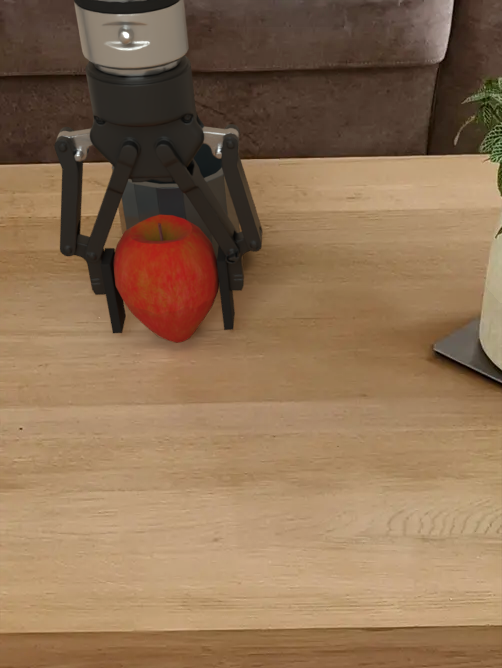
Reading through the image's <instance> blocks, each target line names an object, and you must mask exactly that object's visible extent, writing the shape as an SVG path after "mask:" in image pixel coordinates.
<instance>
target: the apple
mask: <svg viewBox="0 0 502 668" xmlns="http://www.w3.org/2000/svg"><path fill="white" fill-rule="evenodd" d="M113 266H114V276H115V285H116V287H117V289H118V291H119V293H120V295H121V297H122V299H123V302H124V305H125V306H126V308H128V310H129V311H130V312H131V314H132V315H133V316H134V317H135V318H136V319H137V320H138V321H139V322H141V324H143V325H144V327H146V328H147V329H148V330H150V331H151V332H152V333H154V334H155V335H157V337H160V338H161V339H164V340H166V341H169V342H173V343H182V342H185V341H187V340H188V339H190V338H191V337H192V336H193V334H194V333H195V332H196V331H197V329H198V328H199V326H200V325H201V324H202V323H203V321H204V319H205V318H206V317H207V315H208V313H209V312H210V310H211V309H212V307H213V305H214V303H215V301H216V298H217V295H218V291H219V289H220V287H219V278H218V269H217V259H216V255H215V252H214V249H213V246H212V243H211V242H210V240H209V239H208V238H207V236H206V235H205V234H204V233H203V232H202V230H201V229H200V228H199V227H198V226H196V225H194V224H193V223H191V222H189V221H187V220H186V219H183V218H180V217H176V216H173V215H157V216H153V217H150V218H148V219H146V220H143V221H141V222H139V223H137V224H136V225H134V226H133V227H131V228H129V229H128V230H126V231H125V232H124V233H123V234H122V235H121V237H120V238H119V240H118V242H117V244H116V247H115V256H114V261H113Z"/></svg>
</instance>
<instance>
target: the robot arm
mask: <svg viewBox="0 0 502 668" xmlns="http://www.w3.org/2000/svg"><path fill="white" fill-rule="evenodd" d="M73 4H74V10H75V16H76V22H77V28H78V33H79V40H80V47H81V52H82V54H83V57H84V58H85V59H86V60H87V64H86V66H85V75H86V81H87V86H88V93H89V98H90V99H89V100H90V105H91V110H92V117H93V118H92V119H93V121H92V125H91V127H90V128H86V129H79V130H74V128H72V127H69V126H64V127H62V128H61V129H59V132H58V135H57V137H56V140H55V142H54V145H53V146H54V151H55V153H56V156H57V160H58V161H59V164H60V167H61V191H60V192H61V193H60V196H61V197H60V201H61V202H60V228H59V230H60V231H59V233H60V234H59V252H60V253H61V255H63V256H65V257H73V256H76V257H79V258H82V259H83V260H84V261H86V265H87V270H88V275H89V280H90V286H91V290H92V292H93V294H95V295H96V296H101V295H104V296H105V298H106V303H107V309H108V315H109V319H110V327H111V331H112V334H123V331H124V325H125V323H126V316H127V314H126V309H125V302H124V301H123V299H122V297H121V295H120V293H119V291H118V289H117V287H116V285H115V276H114V266H113V261H114V256H115V250H116V248H115V247H105V245H106V243H107V240H108V237H109V235H110V231H111V229H112V226H113V223H114V220H115V218H116V215H117V212H118V206H119V204H120V201H121V198H122V195H123V193H124V190H125V187H126V185H127V182H128V179H131V180H132V182H145V181H149V180H157V181H161V182H173V180H174V181H175V182H176V184H177V185H178V187H179V188H180V190H181V191H182V192H183V193H185V194H186V195H187V197H188V199H189V200H190V202H191V203H192V205H193V206H194V208H195V209H196V211H197V212H198V214H199V215H200V217H201V219H202V220H203V222H204V223H205V225H206V226H207V228H208V229H209V231H210V232H211V234H212V235H213V237H214V239H215V240H216V242H217V243H218V245H219V247H218V255H217V269H218V278H219V294H220V295H219V296H220V305H221V312H222V313H221V314H222V322H223V330H224V331H232V330H234V327H235V326H234V325H235V314H236V311H235V301H234V292H238V291H239V292H240V291H242V290H243V288H244V286H245V269H244V255H245V254H246V253H248V252H253V253H256V252H259V251H260V250H261V249H262V247H263V232H264V231H263V227H262V224H261V221H260V217H259V214H258V211H257V208H256V207H257V206H256V204H255V201H254V198H253V195H252V192H251V188H250V185H249V182H248V179H247V176H246V172H245V169H244V166H243V163H242V159H241V156H240V153H239V152H240V151H239V150H240V139H241V131H240V128H239V126H238V125H237V124H233V123H229V124H227V125H226V126H225V127H224V128H219V127H211V126H205V125H204V123H203V121H202V120H201V119H200V117H199V115H198V112H197V107H196V97H195V89H194V80H193V72H192V63H191V61H190V59H189V57H187V56H186V54H187V53H188V51H189V49H190V48H189V37H188V27H187V18H186V9H185V0H73ZM203 143H204V144H207V145H208V146H209V147H210V148H211V151H212V154H213V155H214V156H215V157H216V158H218V159H222V170H223V174H224V177H225V180H226V183H227V186H228V189H229V193H230V196H231V199H232V202H233V205H234V208H235V211H236V214H237V217H238V220H239V224H240V227H241V230H242V231H241V232H239V233H238V232H237V230H236V228H235V227H234V225H233V224H232V222H231V220H230V219H229V217H228V216H227V214H226V213H225V211H224V209H223V208H222V206H221V205H220V203H219V201H218V200H217V198H216V197H215V195H214V194H213V192H212V190H211V189H210V187H209V186H208V184H207V182H206V181H205V179H204V178H203V176H202V175H201V172H200V169H199V167H198V165H197V163H196V162H195V160H194V156H195V155H196V153H197V152H198V150H199V149H200V147H201V146H202V144H203ZM90 147H94V148H95V149H96V150H97V151H98V152H99V154H101V155H102V156H103V158H104V159H106V161H108V163H110V165H111V166H112V165H113V166H114V169H113V172H112V171H111V175H110V178H109V181H108V184H107V187H106V190H105V192H104V195H103V198H102V201H101V203H100V207H99V210H98V212H97V215H96V218H95V221H94V223H93V227H92V230H91V232H90V235H89V236H88V235H85V234H82V233H81V225H82V201H83V200H82V199H83V175H84V174H83V173H84V161H85V160H87V158H88V155H89V152H90ZM242 256H243V258H242Z"/></svg>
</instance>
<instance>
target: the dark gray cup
mask: <svg viewBox="0 0 502 668" xmlns="http://www.w3.org/2000/svg"><path fill="white" fill-rule="evenodd" d="M194 160H195V162H196V163H197V165H198V167H199V169H200V172H201V175H202V176H203V178H204V179H205V181H206V182H207V184H208V186H209V187H210V189H211V190H212V192H213V194H214V195H215V197H216V198H217V200H218V201H219V203H220V205H221V206H222V208H223V209H224V211H225V213H226V214H227V216H228V217H229V219H230V220H231V222H232V224H233V225H234V227H235V228H236V230H237V232H238V233H239V232H241V231H242V230H241V227H240V224H239V220H238V217H237V214H236V211H235V208H234V205H233V202H232V199H231V196H230V193H229V189H228V186H227V183H226V180H225V177H224V174H223V170H222V159H218V158H216V157H215V156H214V155H213V154H212V151H211V148H210V147H209V146H208V145H207V144H204V143H203V144H202V146H201V147H200V149H199V150H198V152H197V153H196V155H195V156H194ZM113 169H114V166H113V165H112V164H111V173H112V172H113ZM117 211H118V216H119V222H120V227H121V234H122V235H123V233H124V232H125V231H126V230H128V229H129V228H131V227H133V226H134V225H136V224H137V223H139V222H141V221H143V220H146V219H148V218H150V217H153V216H157V215H173V216H176V217H180V218H183V219H186V220H187V221H189V222H191V223H193V224H194V225H196V226H198V227H199V228H200V229H201V230H202V232H203V233H204V234H205V235H206V236H207V238H208V239H209V240H210V242H211V243H212V246H213V249H214V252H215V255H216V259H217V255H218V247H219V245H218V243H217V242H216V240H215V239H214V237H213V235H212V234H211V232H210V231H209V229H208V228H207V226H206V225H205V223H204V222H203V220H202V219H201V217H200V215H199V214H198V212H197V211H196V209H195V208H194V206H193V205H192V203H191V202H190V200H189V199H188V197H187V195H186V194H185V193H183V192H182V191H181V190H180V188H179V187H178V185H177V184H176V182H175V181H174V180H173V182H161V181H157V180H149V181H145V182H132V180H131V179H128V182H127V185H126V187H125V190H124V193H123V195H122V198H121V201H120V204H119V206H118V209H117ZM242 258H243V259H244V255H243V256H242Z"/></svg>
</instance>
